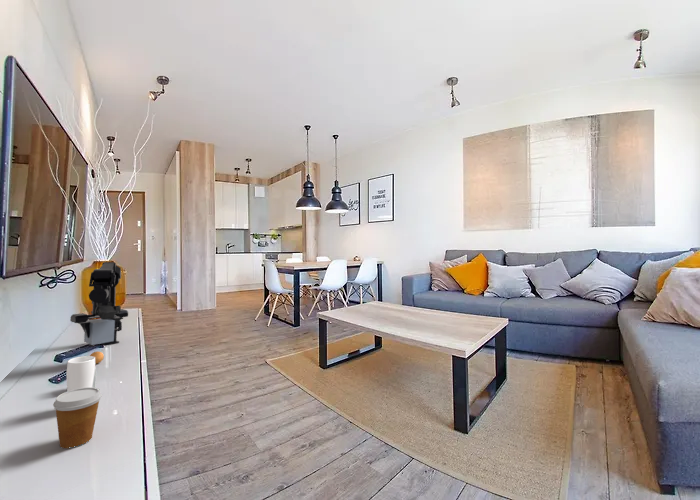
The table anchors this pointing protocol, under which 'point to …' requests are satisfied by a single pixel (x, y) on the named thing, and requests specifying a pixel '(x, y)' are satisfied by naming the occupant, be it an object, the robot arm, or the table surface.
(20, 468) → the table surface
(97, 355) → the ball
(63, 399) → the disposable coffee cup
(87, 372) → the white paper cup
